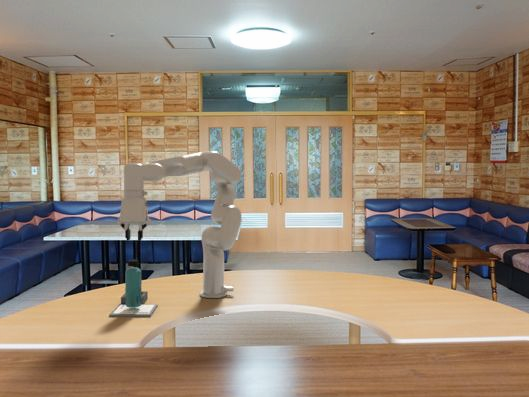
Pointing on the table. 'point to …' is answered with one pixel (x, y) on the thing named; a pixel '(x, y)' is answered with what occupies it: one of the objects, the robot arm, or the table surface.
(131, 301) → the beverage bottle
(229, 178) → the robot arm
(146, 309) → the drawing board
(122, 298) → the button housing
